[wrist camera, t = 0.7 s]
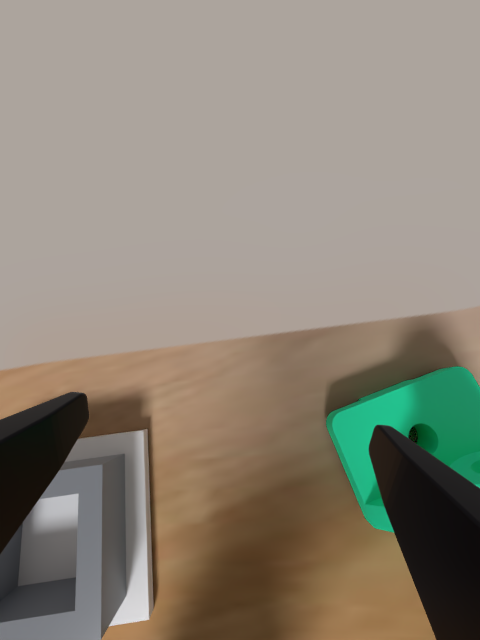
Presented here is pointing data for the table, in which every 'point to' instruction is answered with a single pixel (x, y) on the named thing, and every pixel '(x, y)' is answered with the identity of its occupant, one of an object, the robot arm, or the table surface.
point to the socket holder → (83, 547)
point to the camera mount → (402, 414)
